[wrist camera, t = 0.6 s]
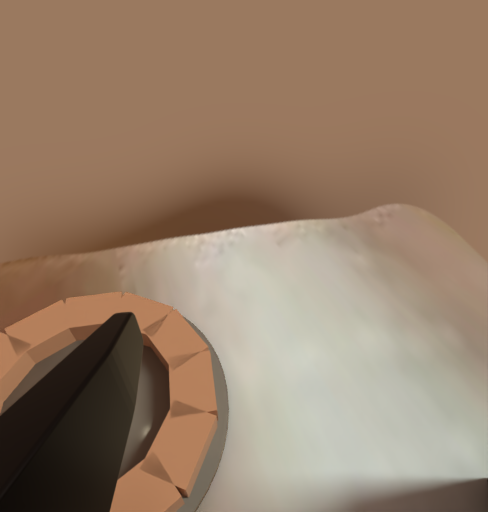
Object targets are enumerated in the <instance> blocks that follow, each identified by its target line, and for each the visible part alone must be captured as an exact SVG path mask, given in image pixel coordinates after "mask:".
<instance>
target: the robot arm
mask: <svg viewBox="0 0 488 512" xmlns="http://www.w3.org/2000/svg"><path fill="white" fill-rule="evenodd" d="M142 353H143V337H142V334H141V331H140V328H139V325H138V322H137V319H136V316H135V315H134V313H132V312H120V313H115V314H113V315H112V316H111V317H110V318H109V319H108V320H106V321H105V322H104V323H103V324H102V325H101V326H100V327H99V328H97V329H96V330H95V331H94V332H93V333H92V334H91V335H90V336H88V337H87V338H86V339H85V340H84V341H83V342H82V343H81V344H79V345H78V346H77V347H76V348H75V349H74V350H73V351H72V352H71V353H69V354H68V355H67V356H66V357H65V358H64V359H63V360H62V361H60V362H59V363H58V364H57V365H56V366H55V367H54V368H53V369H51V370H50V371H49V372H48V373H47V374H46V375H45V376H44V377H42V378H41V379H40V380H39V381H38V382H37V383H36V384H35V385H34V386H32V387H31V388H30V389H29V390H28V391H27V392H26V393H25V394H23V395H22V396H21V397H20V398H19V399H18V400H17V401H16V402H14V403H13V404H12V405H11V406H10V407H9V408H8V409H7V410H5V411H4V412H3V413H2V414H1V415H0V512H110V509H111V505H112V501H113V497H114V493H115V489H116V484H117V480H118V476H119V472H120V468H121V464H122V460H123V456H124V452H125V448H126V444H127V440H128V436H129V432H130V428H131V424H132V420H133V415H134V411H135V406H136V399H137V392H138V384H139V376H140V369H141V361H142Z"/></svg>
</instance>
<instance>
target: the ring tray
mask: <svg viewBox="0 0 488 512" xmlns="http://www.w3.org/2000/svg"><path fill="white" fill-rule="evenodd" d="M120 312H132V313H134V315H135V316H136V319H137V322H138V325H139V328H140V331H141V334H142V337H143V353H142V361H141V369H140V376H139V384H138V392H137V399H136V406H135V411H134V415H133V420H132V424H131V428H130V432H129V436H128V440H127V444H126V448H125V452H124V456H123V460H122V464H121V468H120V472H119V476H118V480H117V484H116V489H115V493H114V497H113V501H112V505H111V509H110V512H196V510H197V508H198V507H199V505H200V503H201V502H202V500H203V498H204V497H205V495H206V493H207V491H208V490H209V487H210V485H211V483H212V481H213V478H214V476H215V474H216V472H217V469H218V466H219V463H220V460H221V457H222V453H223V450H224V446H225V441H226V435H227V430H228V414H229V405H228V392H227V385H226V380H225V376H224V372H223V369H222V366H221V363H220V361H219V358H218V356H217V354H216V352H215V351H214V349H213V347H212V345H211V344H210V342H209V341H208V340H207V338H206V337H205V336H204V334H203V333H202V332H201V331H200V330H199V329H198V328H197V327H196V326H195V325H194V324H193V323H191V322H190V321H189V320H187V319H186V318H185V317H183V316H182V315H181V314H180V313H179V312H178V311H177V310H176V309H175V310H173V307H171V306H168V305H165V304H162V303H159V302H156V301H153V300H150V299H146V298H143V297H140V296H137V295H134V294H131V293H128V292H125V294H124V295H123V294H122V292H114V293H105V294H97V295H89V296H81V297H73V298H67V299H66V303H65V304H64V302H63V301H62V300H60V301H58V302H56V303H54V304H52V305H50V306H48V307H46V308H45V309H43V310H41V311H39V312H37V313H35V314H33V315H31V316H29V317H27V318H25V319H23V320H21V321H19V322H17V323H15V324H13V325H11V326H9V327H7V328H5V331H6V333H7V335H6V334H4V333H1V332H0V415H1V414H2V413H3V412H4V411H5V410H7V409H8V408H9V407H10V406H11V405H12V404H13V403H14V402H16V401H17V400H18V399H19V398H20V397H21V396H22V395H23V394H25V393H26V392H27V391H28V390H29V389H30V388H31V387H32V386H34V385H35V384H36V383H37V382H38V381H39V380H40V379H41V378H42V377H44V376H45V375H46V374H47V373H48V372H49V371H50V370H51V369H53V368H54V367H55V366H56V365H57V364H58V363H59V362H60V361H62V360H63V359H64V358H65V357H66V356H67V355H68V354H69V353H71V352H72V351H73V350H74V349H75V348H76V347H77V346H78V345H79V344H81V343H82V342H83V341H84V340H85V339H86V338H87V337H88V336H90V335H91V334H92V333H93V332H94V331H95V330H96V329H97V328H99V327H100V326H101V325H102V324H103V323H104V322H105V321H106V320H108V319H109V318H110V317H111V316H112V315H113V314H115V313H120Z"/></svg>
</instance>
